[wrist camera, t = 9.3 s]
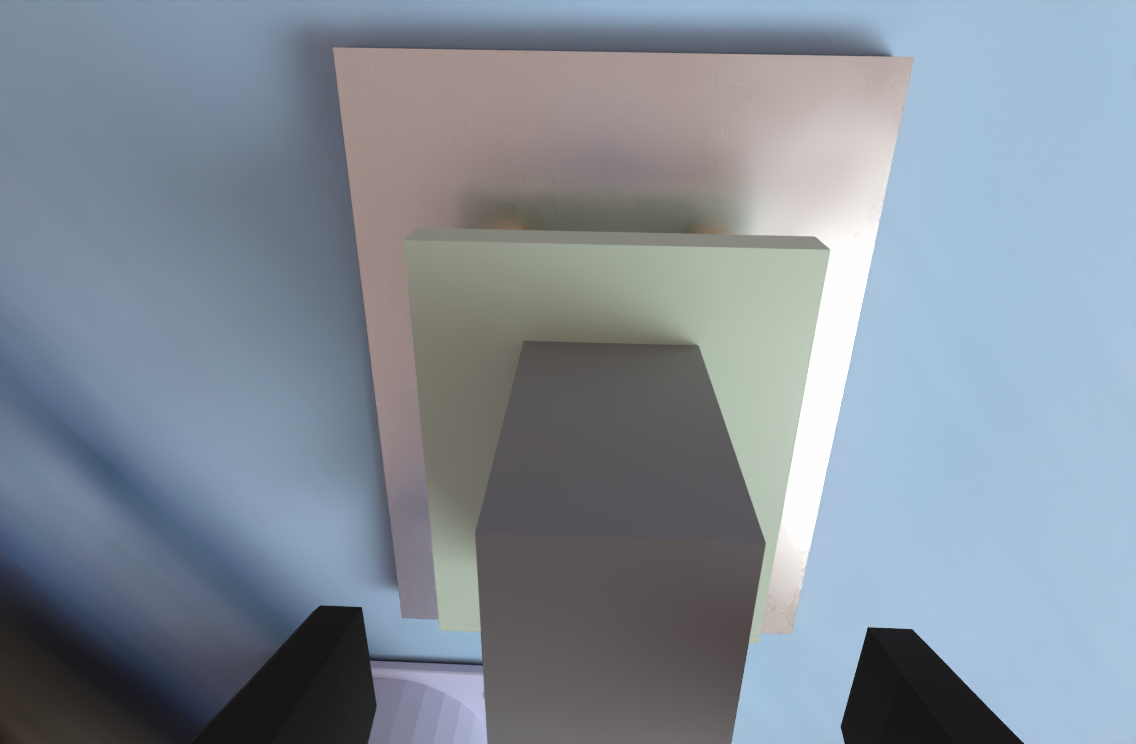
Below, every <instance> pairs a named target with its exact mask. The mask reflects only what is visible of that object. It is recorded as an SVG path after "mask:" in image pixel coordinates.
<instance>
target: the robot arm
mask: <svg viewBox="0 0 1136 744" xmlns="http://www.w3.org/2000/svg"><path fill="white" fill-rule="evenodd" d="M841 730H842V734H843V738H844V742H845V744H1024V743H1023V742H1022V741H1021V740H1020V739H1019V738H1018V737H1017V736H1016V735H1015V734H1014V733H1013V732H1012V731H1011V730H1010V729H1009V728H1008V727H1007V726H1006V725H1005V724H1004V723H1003V722H1002V721H1001V720H1000V719H999V718H998V717H997V716H996V715H995V714H994V713H993V712H992V711H991V710H990V709H989V708H988V707H987V706H986V705H985V704H984V702H983V701H982V700H981V699H980V698H979V697H978V696H977V695H976V694H975V693H974V692H973V691H972V690H971V689H970V688H969V687H968V686H967V685H966V684H965V683H964V682H963V681H962V680H961V679H960V678H959V677H958V676H957V675H956V674H955V673H954V672H953V671H952V670H951V668H950V667H949V666H948V665H947V664H946V663H945V662H944V661H943V660H942V659H941V658H940V657H939V656H938V655H937V654H936V653H935V652H934V651H933V650H932V649H931V648H930V647H929V646H928V645H927V644H926V643H925V642H924V641H923V640H922V639H921V638H920V637H919V636H918V635H917V634H916V633H915V632H914V631H913V630H912V629H895V628H870V627H868V629H867V633H866V637H865V640H864V644H863V648H862V651H861V655H860V658H859V662H858V666H857V669H856V673H855V677H854V680H853V684H852V688H851V691H850V695H849V698H848V702H847V706H846V709H845V713H844V717H843V720H842V724H841ZM188 744H487V730H486V713H485V695H484V678H483V665H460V664H436V663H413V662H390V661H370V658H369V651H368V645H367V638H366V631H365V625H364V618H363V612H362V607H344V606H319V607H318V608H317V609H316V610H314V611H313V612H312V613H311V615H310V616H309V617H308V618H307V619H306V620H305V621H304V622H303V623H302V624H301V625H300V626H299V628H298V629H297V630H296V631H295V632H294V633H293V634H292V635H291V636H290V637H289V638H288V640H287V641H286V642H285V643H284V644H283V645H282V646H281V647H280V648H279V649H278V650H277V652H276V653H275V654H274V655H273V656H272V657H271V658H270V659H269V660H268V661H267V662H266V663H265V664H264V666H263V667H262V668H261V669H260V670H259V671H258V672H257V673H256V674H255V675H254V676H253V677H252V678H251V679H250V680H249V682H248V683H247V684H246V685H245V686H244V687H243V688H242V689H241V690H240V691H239V692H238V693H237V694H236V695H235V696H234V697H233V698H232V699H231V700H230V701H229V702H228V703H227V704H226V705H225V706H224V708H223V709H222V710H221V711H220V712H219V713H218V714H217V715H216V716H215V717H214V718H213V719H212V720H211V721H210V722H209V723H208V724H207V725H206V726H205V727H204V728H203V729H202V730H201V731H200V732H199V733H198V734H197V735H196V736H195V737H194V738H193V739H192V740H191V741H190V742H189V743H188Z"/></svg>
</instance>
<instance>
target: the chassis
mask: <svg viewBox="0 0 1136 744" xmlns="http://www.w3.org/2000/svg"><path fill="white" fill-rule="evenodd" d="M333 53H334V61H335V70H336V78H337V86H338V94H339V103H340V111H341V119H342V127H343V136H344V144H345V152H346V160H347V169H348V177H349V185H350V193H351V202H352V210H353V218H354V226H355V235H356V243H357V251H358V259H359V268H360V276H361V284H362V292H363V301H364V309H365V317H366V325H367V334H368V342H369V350H370V358H371V367H372V375H373V383H374V391H375V400H376V408H377V416H378V424H379V433H380V441H381V449H382V457H383V466H384V474H385V482H386V490H387V499H388V507H389V515H390V523H391V532H392V540H393V548H394V556H395V565H396V573H397V581H398V589H399V598H400V606H401V614H402V618H415V619H439V615H438V604H437V594H436V583H435V572H434V561H433V551H432V540H431V529H430V518H429V508H428V497H427V486H426V476H425V465H424V454H423V443H422V433H421V422H420V411H419V401H418V390H417V379H416V368H415V358H414V347H413V336H412V325H411V315H410V304H409V293H408V283H407V272H406V261H405V250H404V239H405V238H406V237H407V236H408V235H409V234H410V233H411V232H412V231H413V230H414V229H415V228H454V229H499V230H545V231H591V232H636V233H682V234H728V235H774V236H815V237H816V238H818V239H819V240H820V241H821V242H822V243H823V244H824V245H826V246H827V247H828V248H829V249H830V250H831V251H830V256H829V262H828V267H827V273H826V278H825V284H824V289H823V295H822V300H821V306H820V311H819V317H818V322H817V328H816V333H815V338H814V344H813V349H812V355H811V360H810V366H809V371H808V377H807V382H806V388H805V393H804V399H803V404H802V410H801V415H800V421H799V426H798V432H797V437H796V442H795V448H794V453H793V459H792V464H791V470H790V475H789V481H788V486H787V492H786V497H785V503H784V508H783V514H782V519H781V525H780V530H779V536H778V541H777V546H776V552H775V557H774V563H773V568H772V574H771V579H770V585H769V590H768V596H767V601H766V607H765V612H764V618H763V623H762V629H761V633H778V634H792V629H793V624H794V619H795V615H796V610H797V605H798V601H799V596H800V591H801V587H802V582H803V577H804V573H805V568H806V563H807V558H808V554H809V549H810V544H811V540H812V535H813V530H814V526H815V521H816V516H817V511H818V507H819V502H820V497H821V493H822V488H823V483H824V479H825V474H826V469H827V464H828V460H829V455H830V450H831V446H832V441H833V436H834V432H835V427H836V422H837V417H838V413H839V408H840V403H841V399H842V394H843V389H844V385H845V380H846V375H847V370H848V366H849V361H850V356H851V352H852V347H853V342H854V338H855V333H856V328H857V323H858V319H859V314H860V309H861V305H862V300H863V295H864V291H865V286H866V281H867V276H868V272H869V267H870V262H871V258H872V253H873V248H874V244H875V239H876V234H877V229H878V225H879V220H880V215H881V211H882V206H883V201H884V197H885V192H886V187H887V182H888V178H889V173H890V168H891V164H892V159H893V154H894V150H895V145H896V140H897V135H898V131H899V126H900V121H901V117H902V112H903V107H904V103H905V98H906V93H907V88H908V84H909V79H910V74H911V70H912V65H913V60H914V57H889V56H829V55H769V54H708V53H648V52H588V51H528V50H468V49H408V48H344V47H333Z"/></svg>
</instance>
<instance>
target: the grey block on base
mask: <svg viewBox="0 0 1136 744" xmlns="http://www.w3.org/2000/svg"><path fill="white" fill-rule="evenodd" d="M404 250H405V261H406V272H407V283H408V293H409V304H410V315H411V325H412V336H413V347H414V358H415V368H416V379H417V390H418V401H419V411H420V422H421V433H422V443H423V454H424V465H425V476H426V486H427V497H428V508H429V518H430V529H431V540H432V551H433V561H434V572H435V583H436V594H437V604H438V615H439V626H440V630H444V631H469V632H481V644H482V661H483V678H484V695H485V713H486V730H487V744H731V742H732V736H733V730H734V724H735V719H736V713H737V707H738V701H739V696H740V690H741V684H742V678H743V673H744V667H745V661H746V655H747V650H748V644H749V643H759V640H760V634H761V629H762V623H763V618H764V612H765V607H766V601H767V596H768V590H769V585H770V579H771V574H772V568H773V563H774V557H775V552H776V546H777V541H778V536H779V530H780V525H781V519H782V514H783V508H784V503H785V497H786V492H787V486H788V481H789V475H790V470H791V464H792V459H793V453H794V448H795V442H796V437H797V432H798V426H799V421H800V415H801V410H802V404H803V399H804V393H805V388H806V382H807V377H808V371H809V366H810V360H811V355H812V349H813V344H814V338H815V333H816V328H817V322H818V317H819V311H820V306H821V300H822V295H823V289H824V284H825V278H826V273H827V267H828V262H829V256H830V251H831V250H830V249H829V248H828V247H827V246H826V245H824V244H823V243H822V242H821V241H820V240H819V239H818V238H816V237H815V236H774V235H728V234H682V233H636V232H591V231H545V230H499V229H454V228H415V229H414V230H413V231H412V232H411V233H410V234H409V235H408V236H407V237H406V238H405V239H404Z"/></svg>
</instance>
